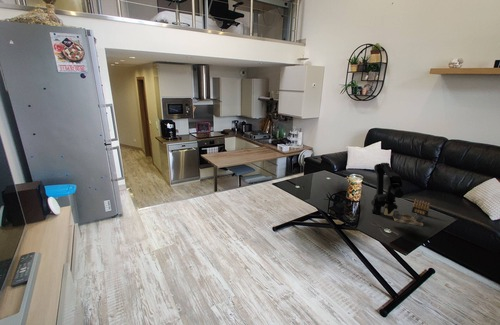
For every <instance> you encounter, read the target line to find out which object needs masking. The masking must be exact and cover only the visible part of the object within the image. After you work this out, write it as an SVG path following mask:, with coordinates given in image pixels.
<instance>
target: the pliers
mask: <svg viewBox="0 0 500 325" xmlns="http://www.w3.org/2000/svg"><path fill="white" fill-rule="evenodd" d="M369 224H371V225H372V226H374V227H376V228H377V229H378V230H380V233H382V234H383V235H384V236H386V237H387V238H390V236H388V235H387V234H385V233H384V232H383V230H386V231H390V232H393V233H394V234H395V235H396V236H399V233H398V232H395V231H393V230H391V229H388V228H385V227H383V226H382V225H380V224H379V223H377V222H376V221H372V222H371V221H370V222H369ZM382 229H383V230H382Z"/></svg>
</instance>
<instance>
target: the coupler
mask: <svg viewBox="0 0 500 325" xmlns="http://www.w3.org/2000/svg"><path fill="white" fill-rule="evenodd" d="M393 213H394V210H393V211H392V212H391V213H390V214H388V208H387V207H386V204H385V205H384V207H383V215H385V216H390V217H393V216H392V215H393Z"/></svg>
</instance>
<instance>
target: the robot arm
mask: <svg viewBox="0 0 500 325" xmlns="http://www.w3.org/2000/svg"><path fill="white" fill-rule="evenodd" d="M374 173H375V175H376V193H375V195H374V197H373V199H372V200H371V201H370V202H371V206H372V207H373V208H372V209H371V213H372V214H373V215H374V214H375V215H380V216H381V215H382V207H383V208H384V205H385V206H386V207H387V208H388V214H390V213H391V212H392V211H393V212H394V211H395V210H398V207H399V205H397V203H396V201H397V200H396V199H402V197H403V196H404V195H405V194H404V191H403V190H402V188H403V181H402V177H401V176H400V175H399V174H398V173H396V172H395V171H394V170H393V168H392V167H391V165H390V163H389V162H381V163H377V164H375V165H374ZM385 175H386V176H387V178H386V180H387V190H386V192H385V193H384V184H385V183H384V182H385V180H384V179H385Z"/></svg>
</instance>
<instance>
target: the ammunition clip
mask: <svg viewBox="0 0 500 325" xmlns="http://www.w3.org/2000/svg"><path fill="white" fill-rule="evenodd" d="M429 210H430V202H428V201H426V202H425V201H424V200H422V199H418V200H417V198H415V199H414V202H413V204H412V209H411V213H412V214H415V215H417V214H420V215H422V216H423V217H425V218H428V217H429V212H430V211H429Z"/></svg>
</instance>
